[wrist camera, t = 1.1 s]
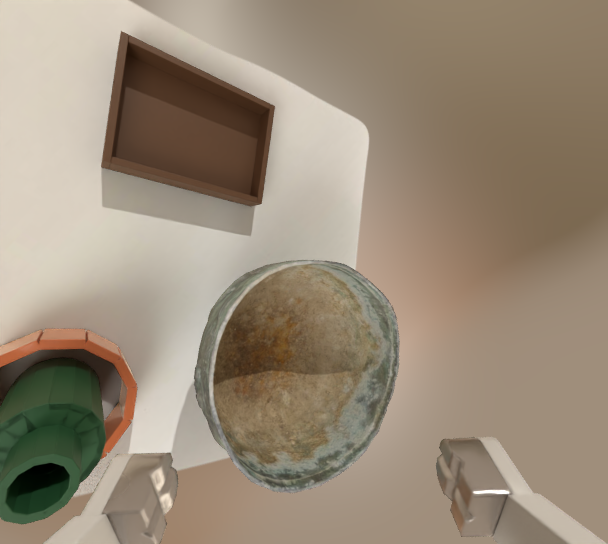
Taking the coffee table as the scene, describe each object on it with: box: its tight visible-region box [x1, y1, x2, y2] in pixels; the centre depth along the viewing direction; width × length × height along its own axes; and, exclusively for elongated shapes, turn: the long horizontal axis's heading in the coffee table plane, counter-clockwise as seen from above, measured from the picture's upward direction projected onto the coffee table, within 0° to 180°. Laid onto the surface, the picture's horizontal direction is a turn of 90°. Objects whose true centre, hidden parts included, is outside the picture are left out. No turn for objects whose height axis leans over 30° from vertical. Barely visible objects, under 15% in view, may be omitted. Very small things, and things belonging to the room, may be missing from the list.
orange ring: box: [0, 329, 137, 459], centre depth 26 cm, size 12×12×4 cm
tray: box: [101, 31, 275, 206], centre depth 32 cm, size 15×11×3 cm
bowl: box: [194, 260, 399, 493], centre depth 32 cm, size 20×19×15 cm
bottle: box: [0, 358, 106, 524], centre depth 23 cm, size 6×6×14 cm
